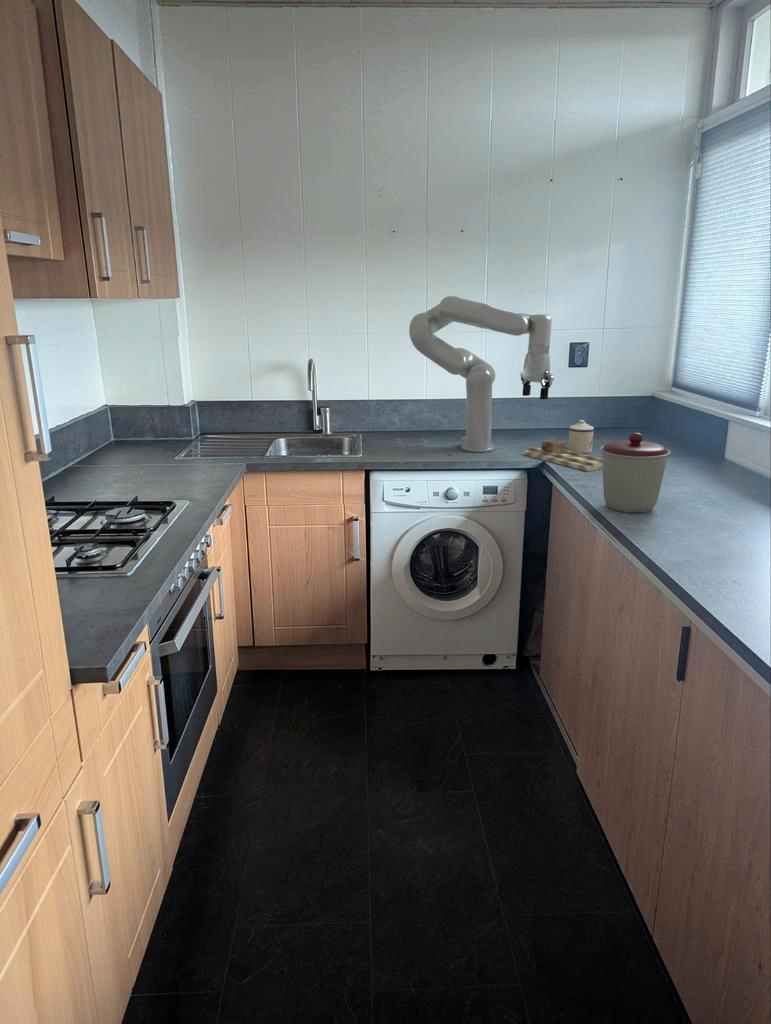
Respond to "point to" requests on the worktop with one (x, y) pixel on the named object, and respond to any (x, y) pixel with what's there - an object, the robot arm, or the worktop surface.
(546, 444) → the walnut slider
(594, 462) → the birch rail board
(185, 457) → the worktop surface
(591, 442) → the teacup with lid
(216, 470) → the worktop surface
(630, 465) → the canister
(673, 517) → the worktop surface
